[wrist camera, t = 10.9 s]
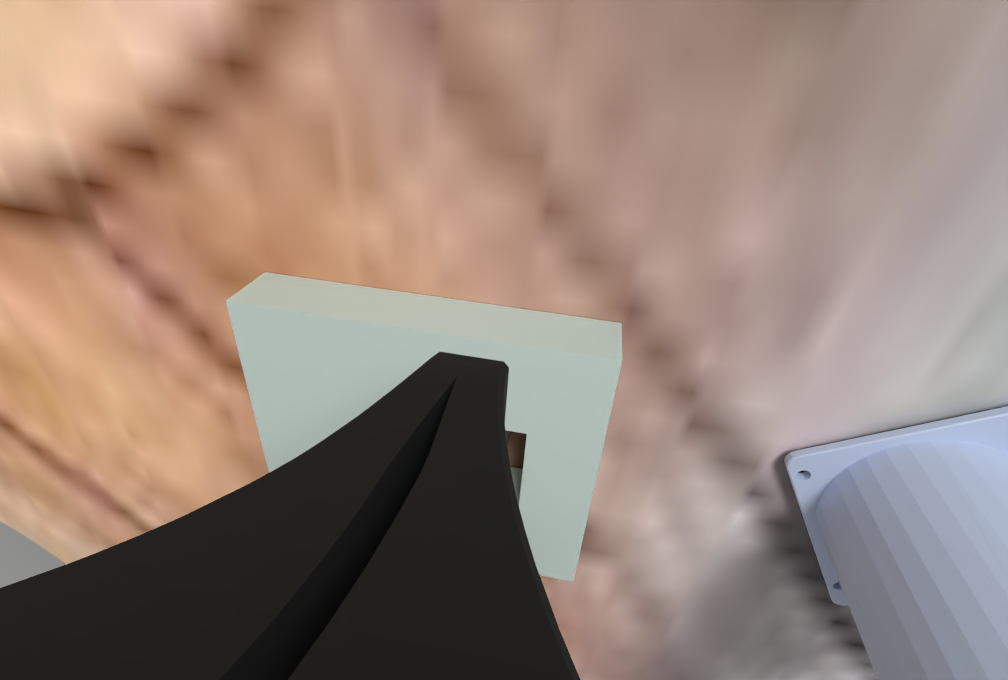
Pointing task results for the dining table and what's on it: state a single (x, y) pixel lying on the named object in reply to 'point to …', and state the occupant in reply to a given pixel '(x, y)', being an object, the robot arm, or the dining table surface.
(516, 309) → the hole board
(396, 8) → the dining table surface
